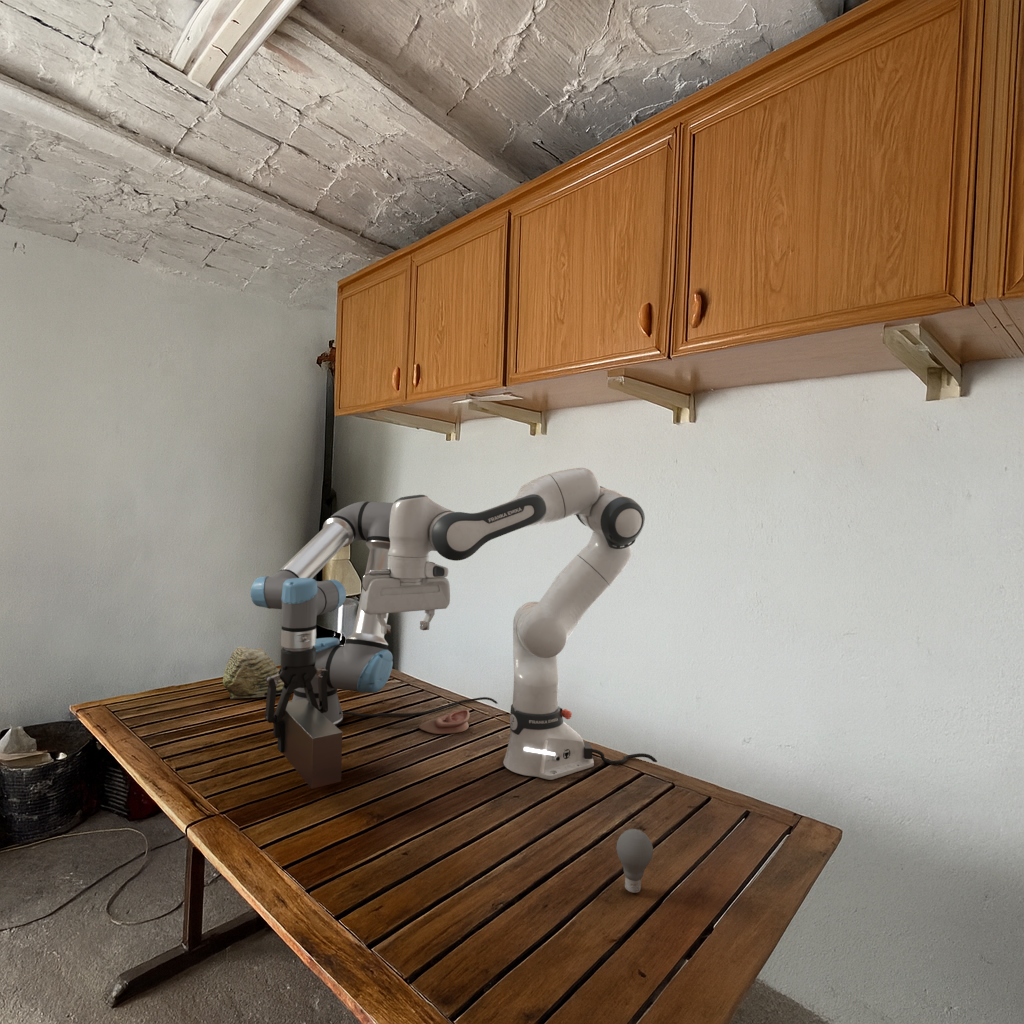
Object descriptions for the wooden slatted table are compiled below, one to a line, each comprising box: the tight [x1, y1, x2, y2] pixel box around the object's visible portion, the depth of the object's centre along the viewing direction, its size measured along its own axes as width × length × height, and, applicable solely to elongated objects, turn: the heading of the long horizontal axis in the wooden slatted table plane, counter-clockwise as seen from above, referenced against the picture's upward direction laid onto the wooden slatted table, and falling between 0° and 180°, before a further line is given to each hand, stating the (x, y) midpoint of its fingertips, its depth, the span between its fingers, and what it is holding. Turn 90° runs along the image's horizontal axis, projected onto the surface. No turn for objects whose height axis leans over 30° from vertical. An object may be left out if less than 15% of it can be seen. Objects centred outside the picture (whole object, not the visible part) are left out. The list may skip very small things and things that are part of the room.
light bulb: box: [615, 828, 654, 894], centre depth 106 cm, size 6×6×10 cm
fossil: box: [222, 646, 284, 699], centre depth 198 cm, size 9×18×15 cm, turn 132°
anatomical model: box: [418, 709, 471, 735], centre depth 177 cm, size 13×4×12 cm
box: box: [282, 699, 343, 790], centre depth 138 cm, size 23×6×10 cm, turn 36°
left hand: (296, 746), depth 144 cm, fingers closed on box, 6 cm apart
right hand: (405, 631), depth 139 cm, fingers open, 8 cm apart
